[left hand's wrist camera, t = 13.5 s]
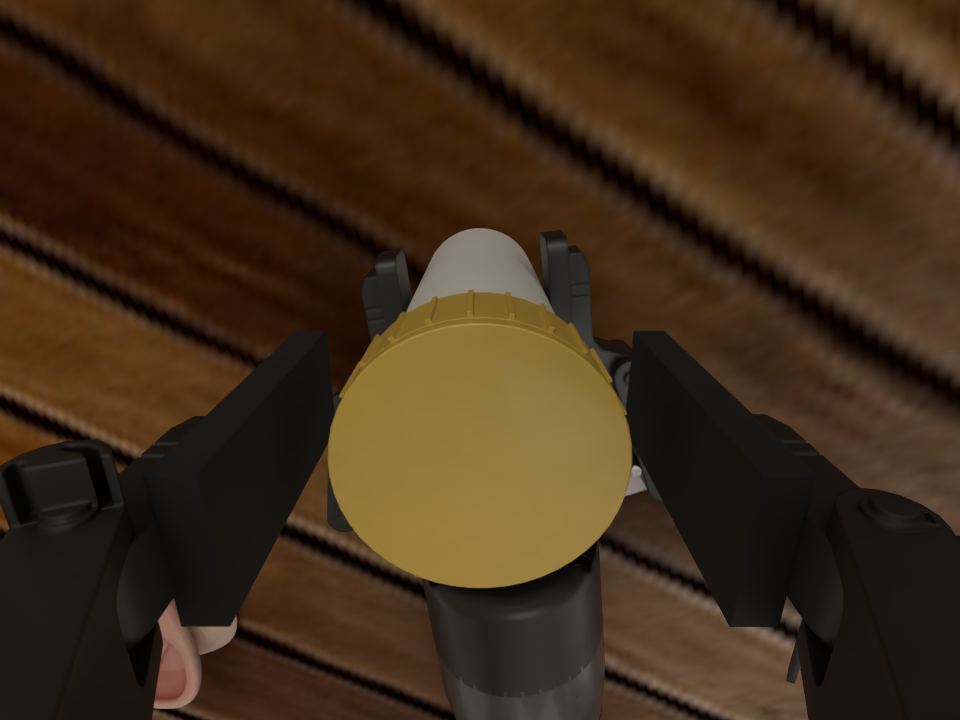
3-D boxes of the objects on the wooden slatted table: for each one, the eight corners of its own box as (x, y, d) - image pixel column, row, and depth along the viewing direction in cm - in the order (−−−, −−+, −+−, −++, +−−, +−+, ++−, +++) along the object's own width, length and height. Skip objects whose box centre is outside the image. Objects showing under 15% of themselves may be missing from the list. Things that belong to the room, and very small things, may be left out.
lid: (296, 404, 12) (257, 455, 10) (493, 229, 11) (497, 247, 9) (468, 560, 14) (466, 635, 11) (660, 425, 12) (697, 481, 10)
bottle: (444, 213, 24) (389, 298, 9) (548, 247, 24) (646, 376, 10) (414, 315, 25) (330, 519, 11) (513, 345, 26) (553, 577, 12)
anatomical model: (-82, 511, 24) (173, 518, 24) (-8, 465, 28) (213, 470, 28) (1, 717, 29) (215, 721, 29) (55, 653, 33) (245, 658, 33)
